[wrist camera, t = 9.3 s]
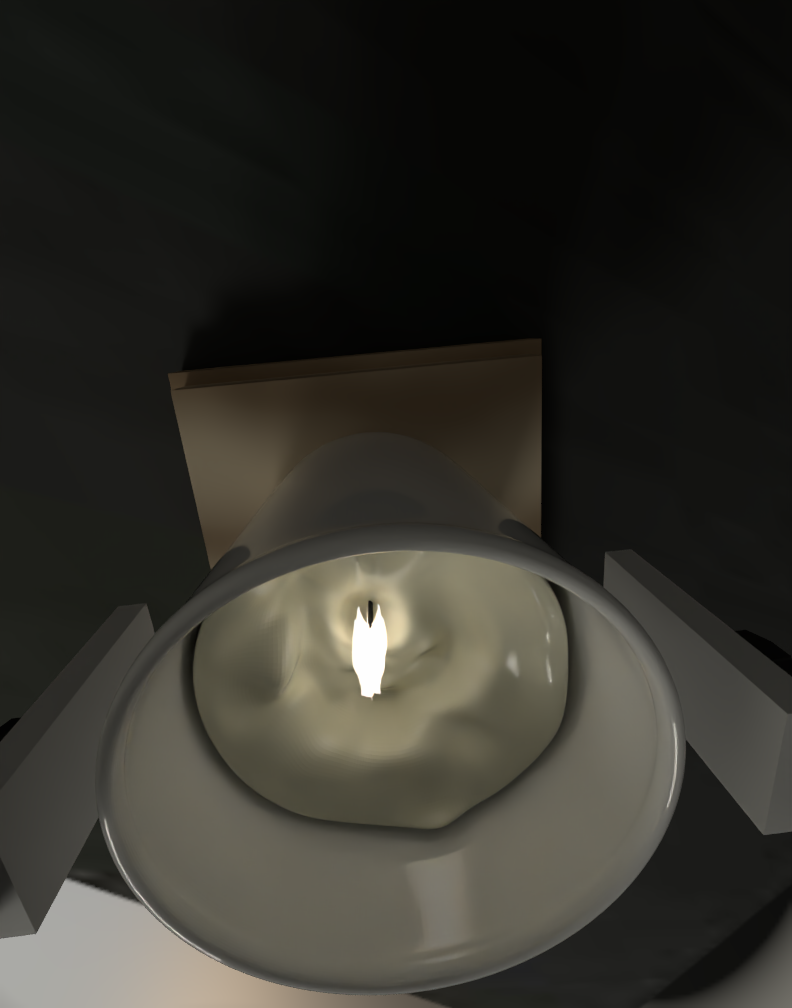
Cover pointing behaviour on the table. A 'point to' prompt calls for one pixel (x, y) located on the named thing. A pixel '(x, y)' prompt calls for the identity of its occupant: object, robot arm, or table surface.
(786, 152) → the table surface
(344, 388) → the stand
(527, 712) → the candle holder
